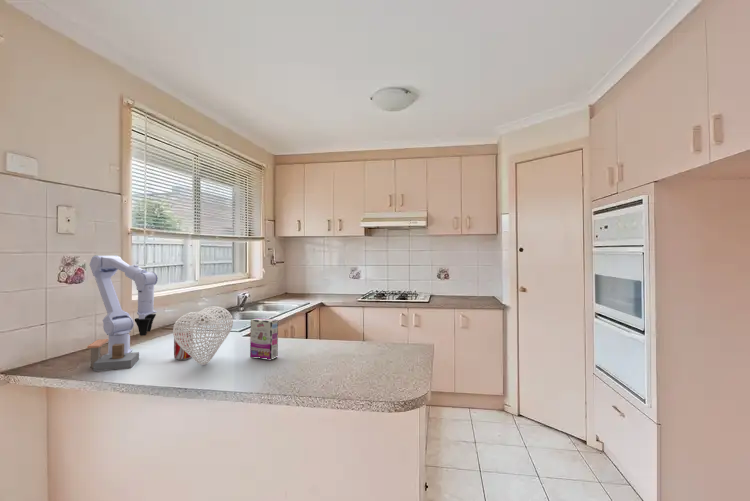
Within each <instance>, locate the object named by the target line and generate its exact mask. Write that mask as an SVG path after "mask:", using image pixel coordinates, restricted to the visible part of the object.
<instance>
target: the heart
mask: <svg viewBox="0 0 750 501" xmlns="http://www.w3.org/2000/svg"><path fill="white" fill-rule="evenodd" d="M202 319H203V321H202ZM233 324H234V317H233V315H232V314H231V312H230V311H229V310H228V309H226V308H224V307H221V306H218V305H215V306H214V305H213V306H212V305H211V306H207V307H204V308H203V309H201V310H199V311H191V312H187V313H184V314H183V315H182V316H180V317H179V318H177V319H176V321H175V322H174V324H173V327H172V334H173V340H174V339H175V341H176V342H177V344H178V345H179V346H180V347H181V348H182V349H183V350H184V351H185V352H186V353H188V354H189V355H190V356H191V357H190V358H192V359H193V361H195V362H196V363H197V364H198V365H201V366H206V365H208V364H209V362H211V361H212V360H213V357H214V356H215V354H216V353H217V351H219V348H220V347H221V345H223V343H224V341H225V340H226V339H227V337H228V336H229V335H230V333H231V331H232V328H233ZM180 329H181V331H180ZM184 329H185V331H184ZM187 329H188V331H187ZM177 330H178V331H177ZM189 331H190V332H189ZM191 331H192V332H191ZM175 333H176V335H175ZM177 333H178V336H177ZM179 333H180V334H181V336H180V334H179ZM182 333H183V336H182ZM187 333H188V335H187ZM189 333H190V334H189ZM184 334H185V338H184ZM191 334H192V335H191ZM189 335H191V338H190V336H189ZM187 336H188V338H187ZM202 336H203V337H202ZM176 338H177V339H176ZM178 339H179V340H178ZM180 339H181V340H180ZM183 339H184V340H183ZM190 339H192V341H191V340H190ZM186 340H187V342H186ZM188 340H189V343H188ZM181 341H182V342H181ZM183 341H184V342H185V343H184V342H183ZM191 342H193V343H191ZM187 344H188V345H187ZM189 344H190V345H189ZM192 344H193V345H192ZM199 344H200V345H199ZM185 345H186V347H185ZM188 346H189V347H188ZM183 347H184V348H183ZM189 348H190V349H191V350H190V349H189ZM187 349H188V350H187ZM188 351H189V352H188ZM191 351H192V352H191ZM190 353H191V354H190Z"/></svg>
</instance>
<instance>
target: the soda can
mask: <svg viewBox="0 0 750 501" xmlns="http://www.w3.org/2000/svg"><path fill="white" fill-rule="evenodd" d="M177 331H178V329H177ZM180 331H181V328H180ZM184 331H185V328H184ZM187 331H188V328H187ZM189 332H190V331H189ZM191 332H192V331H191ZM179 334H180V333H179ZM189 334H190V333H189ZM175 335H176V333H175ZM187 335H188V333H187ZM191 335H192V334H191ZM191 335H189V336H190V338H191ZM177 336H178V333H177ZM180 336H181V334H180ZM182 336H183V333H182ZM184 338H185V334H184ZM187 338H188V336H187ZM176 339H177V338H176ZM178 340H179V339H178ZM180 340H181V339H180ZM183 340H184V339H183ZM190 340H191V341H192V339H190ZM181 342H182V341H181ZM183 342H184V341H183ZM186 342H187V340H186ZM184 343H185V342H184ZM188 343H189V340H188ZM191 343H193V342H191ZM187 345H188V344H187ZM189 345H190V344H189ZM192 345H193V344H192ZM193 346H194V345H193ZM185 347H186V345H185ZM188 347H189V346H188ZM183 348H184V347H183ZM189 349H190V348H189ZM187 350H188V349H187ZM190 350H191V349H190ZM188 352H189V351H188ZM191 352H192V351H191ZM190 354H191V353H190ZM173 358H174V359H175V360H177V361H187V360H189V359H190V358H192V357H191V356H190V355H189V354H188V353H186V352H185V351H184V350H183V349H182V348H181V347H180V346H179V345H178V344H177V342H176V341H175V339H174V338H173Z"/></svg>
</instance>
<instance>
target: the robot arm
mask: <svg viewBox="0 0 750 501" xmlns="http://www.w3.org/2000/svg"><path fill="white" fill-rule="evenodd" d="M89 266H90V270H91V272H92V276H93V277H94V279H95V282H96V285H97V288H98V290H99V293H100V297H101V299H102V302H103V305H104V308H105V311H106V313H107V314H106V315H105V316H104V317H103V319H102V322H103V323H102V324H103V326H102V327H103V328H102V329H103V331H104V333H105V334H106V335H107V336H108V342H107V343H108V344H107V345H108V347H107V348H108V349H107V350H108V353H107V354H112V346H113V345H114V344H122V343H124V353H132V351H133V349H132V348H131V335H130V333H132V332H131V331H132V330H133V329H134V326H135V324H136V325H137V326H136V327H137V329H138V333H139V336H147V334H148V332H151V330H152V327H153V322H154V320H155V318H156V316H157V313H158V311H157V310H155V308H154V306H155V304H154V302H155V285H156V284H157V283H158V279H159V278H158V275H157V274H156V273H155V272H154V271H147V269H145V268H144V269H143V268H141V267H140V266H139V265H138V264H131V265H130V264H129V263H127V262H126V261H124V260H123V259H122V257H121V256H119V255H117V254H113V255H93V256H92V257H91V258H90V262H89ZM118 270H119V271H120V272H123V273H124V275H125V277H126V278H129V280H132V281H134V284H135V285H136V286H135V287H136V290H137V311H136V314H137V315H138V318H135V319H133V318H132V317H131V316H130V315H131V314H130V313H129V312H127V311H125V310H123V308H122V305H121V302H120V301H119V297H118V295H117V292H116V289H115V287H114V283H113V281H112V277H113V276H115V274H117V272H118Z"/></svg>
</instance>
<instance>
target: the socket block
mask: <svg viewBox="0 0 750 501" xmlns="http://www.w3.org/2000/svg"><path fill="white" fill-rule="evenodd" d="M108 342H109V338H105V339H104V338H102V339H96V340H95V341H93V342H92V343H90V344H88V345H87V347H86V348H87V349H90V368H91V369H93V370H92V371H93V372H97V371H98V372H99V371H110V370H111V371H112V370H124V369H132V367H133V366H134V365H135V364H137V362H138V361H139V360H140V352H139V351H137V352H130V353H124V357H123V358H120V359H112V354H108V353H107V354H103V355H101V347H102V346H103V345H105V344H106V343H108Z"/></svg>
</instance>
